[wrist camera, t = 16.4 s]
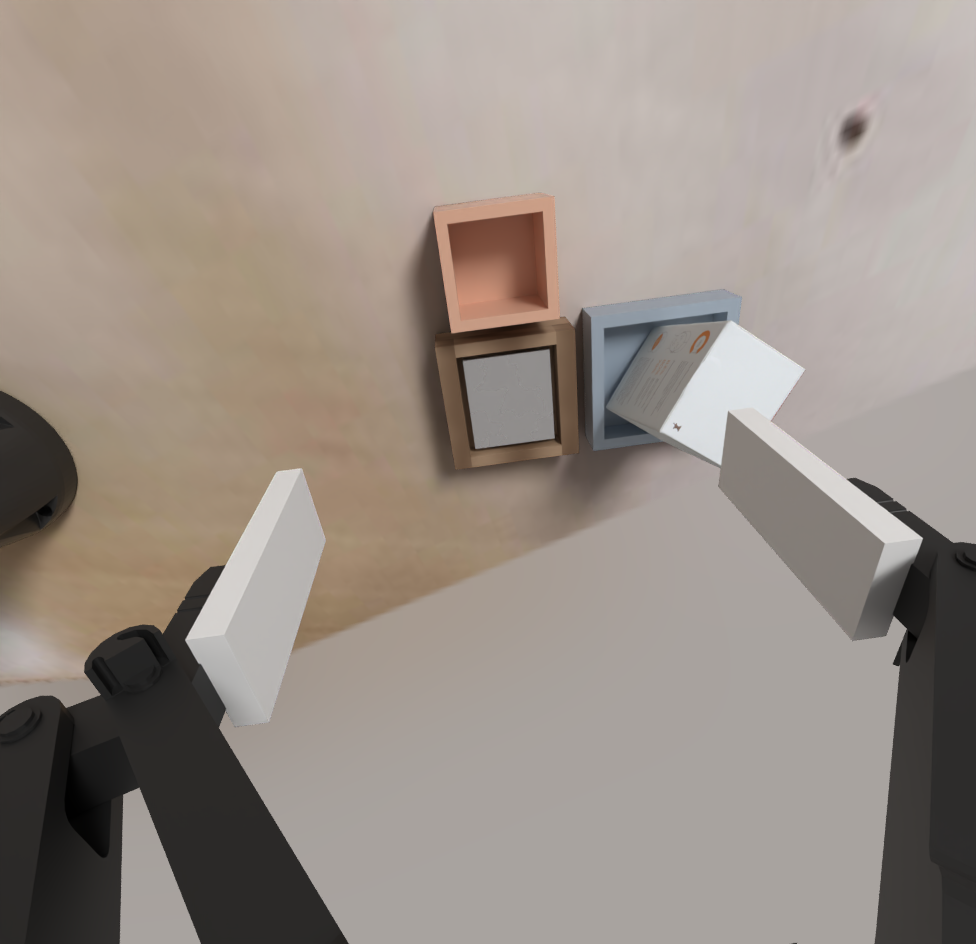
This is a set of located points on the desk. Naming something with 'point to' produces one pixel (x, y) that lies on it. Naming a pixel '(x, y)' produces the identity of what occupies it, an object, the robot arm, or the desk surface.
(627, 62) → the desk surface
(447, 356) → the brown wooden square tray
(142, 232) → the desk surface
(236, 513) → the desk surface
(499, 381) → the plate
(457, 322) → the pink open box
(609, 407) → the small box
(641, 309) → the tray
